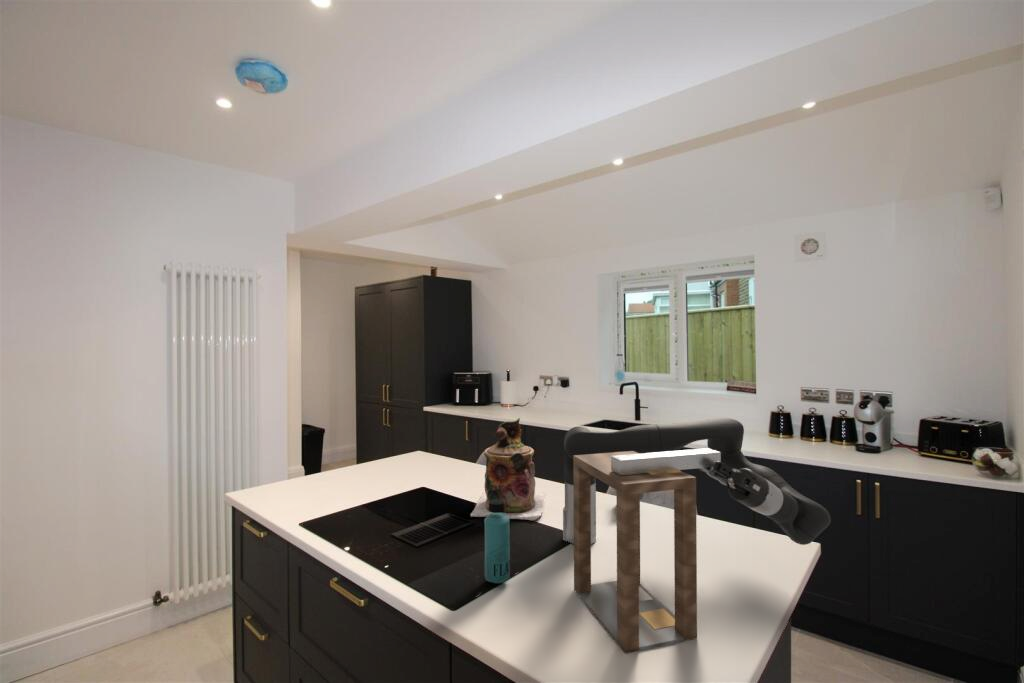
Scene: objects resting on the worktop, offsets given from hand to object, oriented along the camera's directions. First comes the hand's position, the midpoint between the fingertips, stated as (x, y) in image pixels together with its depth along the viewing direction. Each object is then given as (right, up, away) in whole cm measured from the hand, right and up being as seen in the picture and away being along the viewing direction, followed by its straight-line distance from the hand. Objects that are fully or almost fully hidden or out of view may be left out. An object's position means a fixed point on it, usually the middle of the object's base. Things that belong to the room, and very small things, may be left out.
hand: (702, 460), depth 103 cm
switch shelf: (-16, -33, +1) cm, 37 cm away
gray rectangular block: (-9, -1, -2) cm, 9 cm away
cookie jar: (-42, -34, +66) cm, 85 cm away
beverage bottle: (-45, -34, +13) cm, 58 cm away
